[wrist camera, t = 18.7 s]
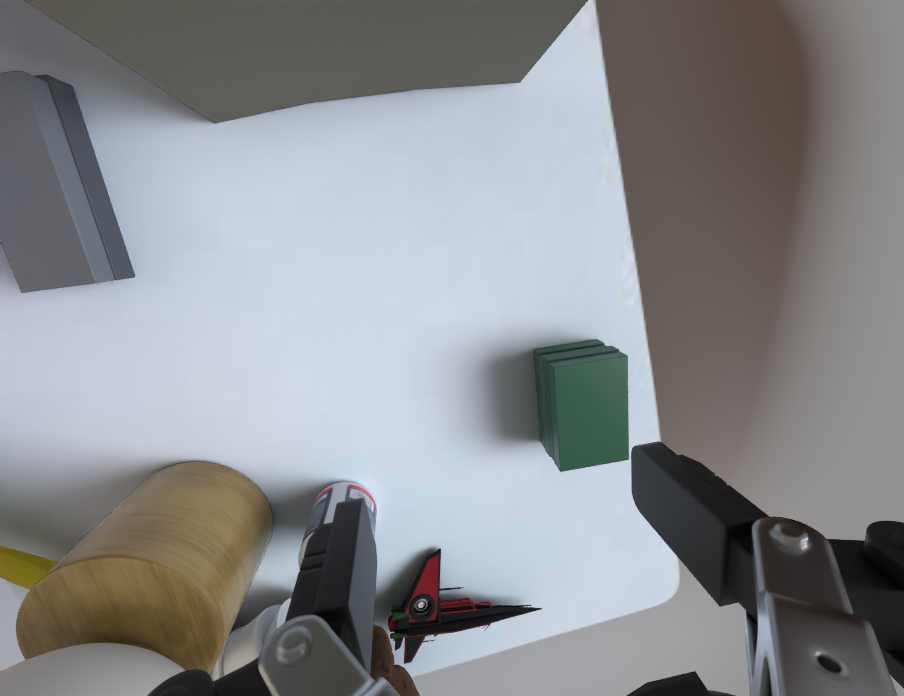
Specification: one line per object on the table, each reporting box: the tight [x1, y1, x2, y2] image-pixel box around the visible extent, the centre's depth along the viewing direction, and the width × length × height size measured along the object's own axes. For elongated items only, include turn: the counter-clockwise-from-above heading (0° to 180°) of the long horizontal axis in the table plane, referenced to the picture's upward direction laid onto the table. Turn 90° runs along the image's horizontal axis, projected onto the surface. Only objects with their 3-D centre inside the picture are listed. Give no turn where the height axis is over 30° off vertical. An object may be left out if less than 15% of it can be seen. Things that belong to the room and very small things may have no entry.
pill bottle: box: [299, 482, 377, 567], centre depth 32 cm, size 5×5×9 cm
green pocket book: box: [548, 351, 629, 472], centre depth 32 cm, size 8×6×1 cm, turn 7°
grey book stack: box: [0, 71, 135, 293], centre depth 26 cm, size 12×5×4 cm, turn 7°
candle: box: [209, 597, 292, 681], centre depth 35 cm, size 7×7×15 cm
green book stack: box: [534, 340, 619, 462], centre depth 34 cm, size 9×6×4 cm, turn 7°
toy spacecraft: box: [388, 549, 542, 664], centre depth 39 cm, size 4×15×10 cm
